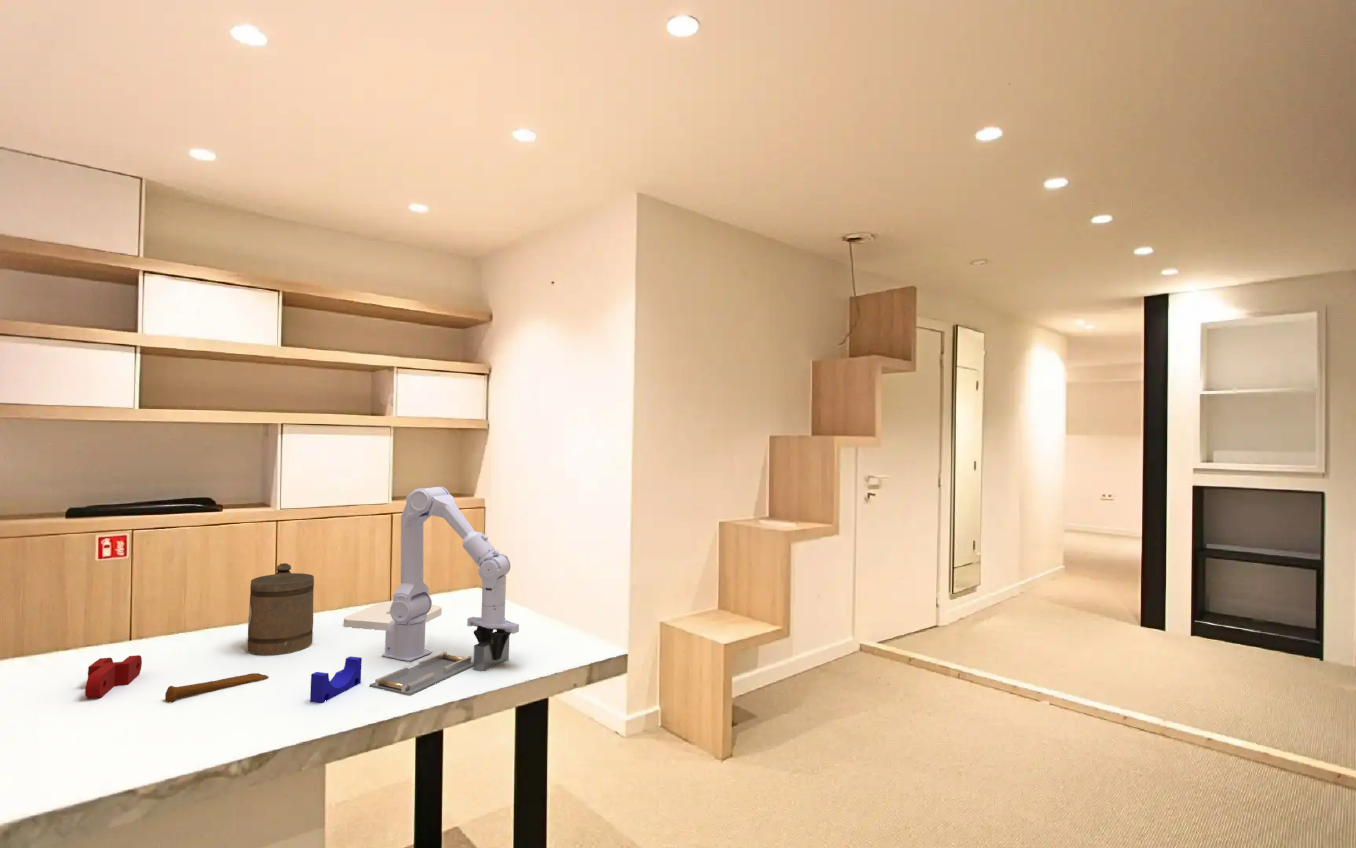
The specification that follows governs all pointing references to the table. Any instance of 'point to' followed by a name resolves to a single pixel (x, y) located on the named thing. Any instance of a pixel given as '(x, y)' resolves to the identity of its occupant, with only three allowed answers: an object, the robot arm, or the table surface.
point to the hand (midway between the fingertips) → (491, 658)
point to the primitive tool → (210, 686)
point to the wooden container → (280, 612)
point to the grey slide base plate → (417, 673)
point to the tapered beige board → (380, 617)
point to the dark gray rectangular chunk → (488, 655)
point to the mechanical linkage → (111, 675)
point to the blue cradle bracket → (335, 681)
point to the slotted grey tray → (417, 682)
